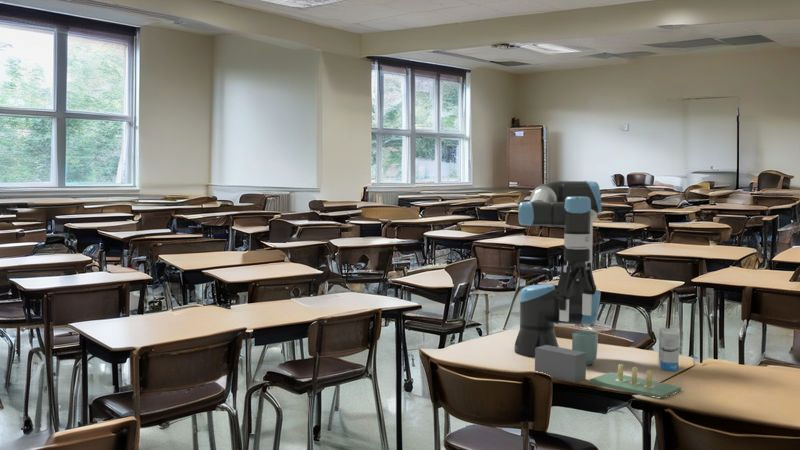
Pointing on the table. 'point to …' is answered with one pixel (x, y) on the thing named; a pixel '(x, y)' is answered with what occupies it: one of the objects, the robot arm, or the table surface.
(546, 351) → the block
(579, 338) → the cup
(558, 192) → the robot arm
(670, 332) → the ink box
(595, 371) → the table surface
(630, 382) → the header
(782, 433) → the table surface
